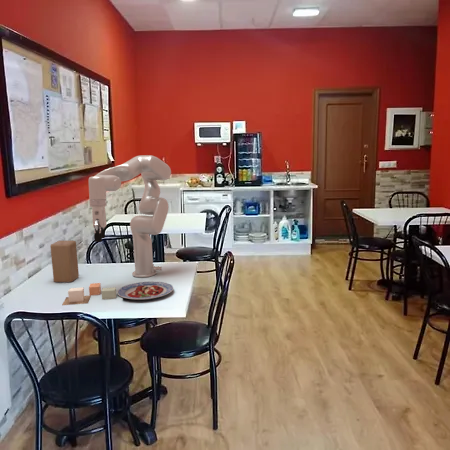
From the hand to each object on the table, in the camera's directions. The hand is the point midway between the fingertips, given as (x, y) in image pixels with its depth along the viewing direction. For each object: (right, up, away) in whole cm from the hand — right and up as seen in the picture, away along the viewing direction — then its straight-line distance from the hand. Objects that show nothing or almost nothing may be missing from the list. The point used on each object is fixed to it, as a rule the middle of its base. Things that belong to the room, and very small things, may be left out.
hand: (99, 239), depth 223 cm
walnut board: (-8, -28, -10) cm, 30 cm away
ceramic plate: (+21, -25, 0) cm, 33 cm away
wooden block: (-24, -22, +26) cm, 42 cm away
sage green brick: (+6, -27, -7) cm, 28 cm away
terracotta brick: (-2, -26, 0) cm, 26 cm away
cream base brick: (-8, -26, -10) cm, 29 cm away
